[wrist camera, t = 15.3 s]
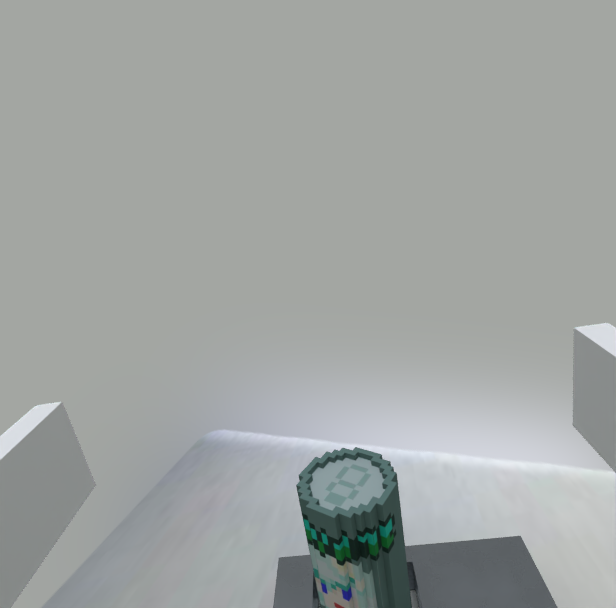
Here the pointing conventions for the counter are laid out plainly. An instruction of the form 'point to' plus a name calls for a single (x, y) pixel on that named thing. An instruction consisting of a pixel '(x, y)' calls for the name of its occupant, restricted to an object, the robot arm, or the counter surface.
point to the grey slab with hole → (442, 576)
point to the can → (355, 530)
